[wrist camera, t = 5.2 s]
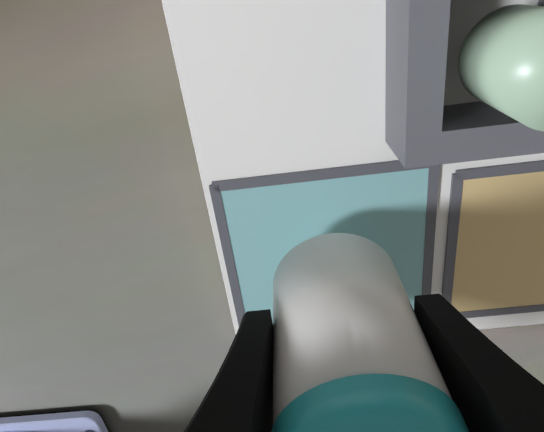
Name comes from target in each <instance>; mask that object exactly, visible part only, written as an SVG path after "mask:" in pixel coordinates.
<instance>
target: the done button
mask: <svg viewBox="0 0 544 432" xmlns="http://www.w3.org/2000/svg"><path fill="white" fill-rule="evenodd" d="M458 70H459V76H460V80H461V82H462V84H463V86H464V88H465V89H466V90H467V91H468V92H469V93H470V94H471V95H472V96H473V97H475V98H477V99H479V100H480V101H482V102H484V103H486V104H488V105H489V106H491V107H493V108H495V109H497V110H498V111H500V112H502V113H504V114H506V115H507V116H509V117H511V118H513V119H515V120H516V121H518V122H520V123H522V124H524V125H525V126H527V127H529V128H532V129H534V130H538V131H544V6H535V5H522V4H514V5H508V6H504V7H501V8H498V9H496V10H494V11H492V12H491V13H489V14H487V15H486V16H485V17H483V18H482V19H481V20H480V21H479V22H478V23H477V24H476V25H475V26H474V27H473V28H472V30H471V31H470V32H469V34H468V35H467V37H466V39H465V41H464V43H463V45H462V48H461V51H460V55H459V61H458Z"/></svg>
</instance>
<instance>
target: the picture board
mask: <svg viewBox="0 0 544 432" xmlns="http://www.w3.org/2000/svg"><path fill="white" fill-rule="evenodd" d="M514 4H522V5H535V6H544V0H162V5H163V9H164V14H165V18H166V23H167V27H168V32H169V36H170V41H171V45H172V50H173V54H174V59H175V64H176V68H177V73H178V77H179V82H180V86H181V91H182V95H183V100H184V104H185V109H186V113H187V118H188V122H189V127H190V131H191V136H192V140H193V145H194V149H195V154H196V158H197V163H198V167H199V172H200V176H201V181H202V185H203V190H204V194H205V199H206V203H207V208H208V212H209V217H210V221H211V226H212V230H213V235H214V239H215V244H216V248H217V253H218V257H219V262H220V266H221V271H222V275H223V280H224V284H225V289H226V293H227V298H228V302H229V307H230V312H231V316H232V321H233V325H234V330H235V334H236V333H237V331H238V328H239V326H240V323H241V320H242V317H243V315H244V314H245V313H246V312H247V311H257V310H268V309H270V311H271V317H272V323H273V279H274V274H275V272H276V269H277V267H278V265H279V263H280V262H281V260H282V259H283V258H284V256H285V255H286V254H287V253H288V252H289V251H290V250H291V249H293V248H294V247H295V246H297V245H298V244H300V243H302V242H303V241H305V240H308V239H310V238H312V237H316V236H319V235H323V234H329V233H348V234H355V235H358V236H362V237H365V238H367V239H369V240H371V241H373V242H375V243H376V244H378V245H379V246H380V247H382V248H383V249H384V250H385V251H386V252H387V254H388V255H389V256H390V258H391V259H392V262H393V264H394V266H395V268H396V271H397V273H398V275H399V277H400V280H401V282H402V284H403V287H404V289H405V291H406V294H407V296H408V298H409V301H410V303H411V305H412V307H413V310H414V297H415V296H417V295H428V294H441V295H442V296H443V297H444V298H445V299H446V300H447V301H448V302H449V303H450V304H452V305H453V306H454V307H455V308H456V309H457V310H458V311H459V312H460V313H461V314H462V315H463V316H464V317H465V318H466V319H467V320H468V321H470V322H471V323H472V324H473V325H474V326H475V327H476V328H477V329H489V328H500V327H512V326H523V325H534V324H544V131H538V130H534V129H532V128H529V127H527V126H525V125H524V124H522V123H520V122H518V121H516V120H515V119H513V118H511V117H509V116H507V115H506V114H504V113H502V112H500V111H498V110H497V109H495V108H493V107H491V106H489V105H488V104H486V103H484V102H482V101H480V100H479V99H477V98H475V97H473V96H472V95H471V94H470V93H469V92H468V91H467V90H466V89H465V88H464V86H463V84H462V82H461V80H460V76H459V70H458V61H459V55H460V51H461V48H462V45H463V43H464V41H465V39H466V37H467V35H468V34H469V32H470V31H471V30H472V28H473V27H474V26H475V25H476V24H477V23H478V22H479V21H480V20H481V19H482V18H483V17H485V16H486V15H487V14H489V13H491V12H492V11H494V10H496V9H498V8H501V7H504V6H508V5H514Z"/></svg>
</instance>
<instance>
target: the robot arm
mask: <svg viewBox="0 0 544 432" xmlns="http://www.w3.org/2000/svg"><path fill="white" fill-rule="evenodd" d="M414 312H415V314H416V317H417V319H418V321H419V324H420V326H421V328H422V331H423V333H424V335H425V337H426V340H427V342H428V344H429V347H430V349H431V351H432V354H433V356H434V358H435V361H436V363H437V365H438V367H439V370H440V372H441V374H442V377H443V379H444V381H445V384H446V386H447V388H448V391H449V393H450V395H451V398H452V400H453V401H454V402H455V404H456V405H457V406H458V408H459V409H460V412H461V414H462V416H463V418H464V420H465V423H466V425H467V427H468V430H469V432H544V385H543V384H542V383H541V382H540V381H538V380H537V379H536V378H535V377H533V376H532V375H531V374H530V373H528V372H527V371H526V370H525V369H523V368H522V367H521V366H520V365H518V364H517V363H516V362H515V361H514V360H512V359H511V358H510V357H509V356H508V355H507V354H505V353H504V352H503V351H502V350H501V349H500V348H498V347H497V346H496V345H495V344H494V343H493V342H492V341H490V340H489V339H488V338H487V337H486V336H485V335H484V334H483V333H481V332H480V331H479V330H478V329H477V328H476V327H475V326H474V325H473V324H472V323H471V322H470V321H468V320H467V319H466V318H465V317H464V316H463V315H462V314H461V313H460V312H459V311H458V310H457V309H456V308H455V307H454V306H453V305H452V304H450V303H449V302H448V301H447V300H446V299H445V298H444V297H443V296H442V295H441V294H428V295H417V296H415V297H414ZM272 427H273V323H272V317H271V311H270V309H268V310H257V311H247V312H246V313H245V314H244V315H243V317H242V320H241V323H240V326H239V328H238V331H237V333H236V336H235V338H234V341H233V343H232V345H231V347H230V349H229V352H228V354H227V356H226V358H225V360H224V362H223V364H222V366H221V368H220V370H219V372H218V374H217V376H216V378H215V380H214V382H213V383H212V385H211V387H210V389H209V390H208V392H207V394H206V396H205V397H204V399H203V401H202V403H201V404H200V406H199V408H198V410H197V411H196V413H195V415H194V416H193V418H192V419H191V421H190V422H189V424H188V426H187V427H186V429H185V430H184V432H271V431H272ZM0 432H108V430H107V428H106V426H105V424H104V422H103V420H102V418H101V417H100V415H99V414H98V413H96V412H93V411H76V412H63V413H51V414H39V415H27V416H15V417H2V418H0Z"/></svg>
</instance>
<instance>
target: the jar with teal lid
mask: <svg viewBox="0 0 544 432" xmlns="http://www.w3.org/2000/svg"><path fill="white" fill-rule="evenodd" d="M271 432H469V430H468V427H467V425H466V423H465V420H464V418H463V416H462V414H461V412H460V409H459V408H458V406H457V405H456V404H455V402H454V401H453V400H452V398H451V395H450V393H449V391H448V388H447V386H446V384H445V381H444V379H443V377H442V374H441V372H440V370H439V367H438V365H437V363H436V361H435V358H434V356H433V354H432V351H431V349H430V347H429V344H428V342H427V340H426V337H425V335H424V333H423V331H422V328H421V326H420V324H419V321H418V319H417V317H416V314H415V312H414V310H413V307H412V305H411V303H410V301H409V298H408V296H407V294H406V291H405V289H404V287H403V284H402V282H401V280H400V277H399V275H398V273H397V271H396V268H395V266H394V264H393V262H392V259H391V258H390V256H389V255H388V254H387V252H386V251H385V250H384V249H383V248H382V247H380V246H379V245H378V244H376V243H375V242H373V241H371V240H369V239H367V238H365V237H362V236H358V235H355V234H348V233H329V234H323V235H319V236H316V237H312V238H310V239H308V240H305V241H303V242H302V243H300V244H298V245H297V246H295V247H294V248H293V249H291V250H290V251H289V252H288V253H287V254H286V255H285V256H284V258H283V259H282V260H281V262H280V263H279V265H278V267H277V269H276V272H275V274H274V279H273V427H272V431H271Z"/></svg>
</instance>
